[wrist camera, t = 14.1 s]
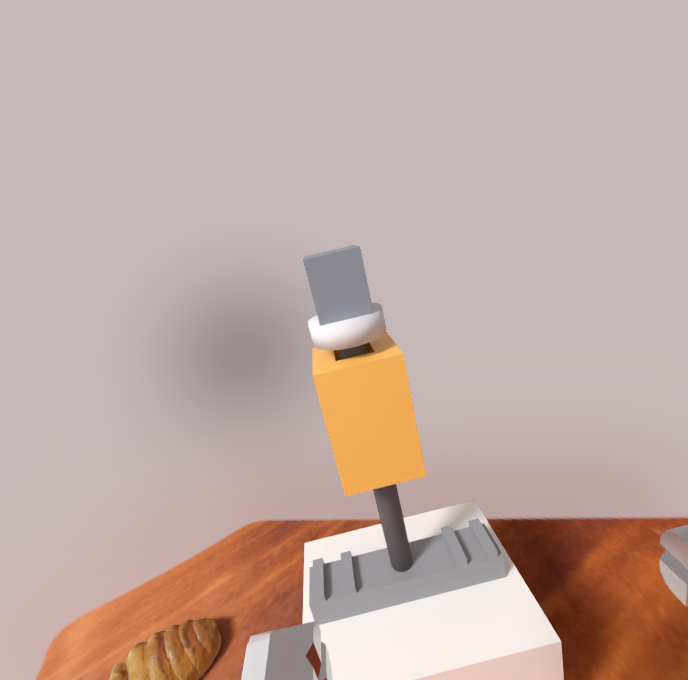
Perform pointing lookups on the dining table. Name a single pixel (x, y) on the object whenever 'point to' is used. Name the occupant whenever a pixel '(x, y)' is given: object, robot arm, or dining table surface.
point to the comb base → (428, 605)
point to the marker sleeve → (369, 416)
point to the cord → (354, 354)
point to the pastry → (172, 653)
